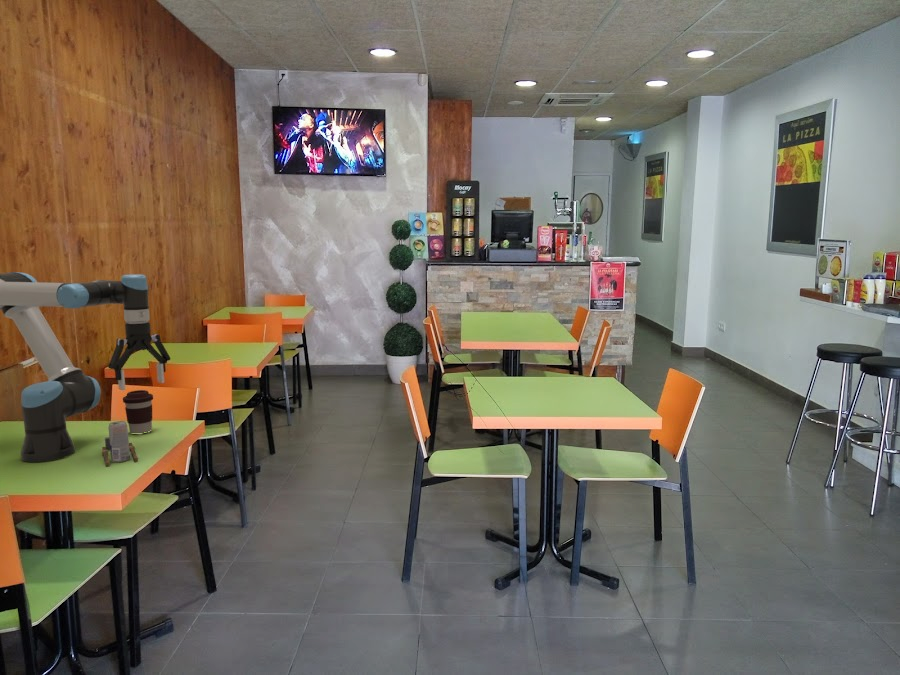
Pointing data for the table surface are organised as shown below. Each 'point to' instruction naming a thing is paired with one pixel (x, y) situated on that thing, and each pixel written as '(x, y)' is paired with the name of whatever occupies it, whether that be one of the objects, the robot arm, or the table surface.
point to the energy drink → (119, 441)
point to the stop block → (107, 443)
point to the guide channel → (131, 448)
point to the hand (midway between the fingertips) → (142, 386)
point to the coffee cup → (139, 411)
